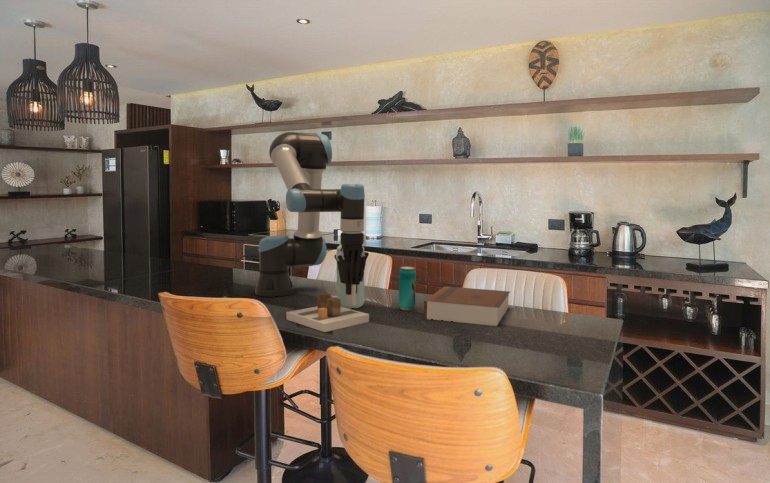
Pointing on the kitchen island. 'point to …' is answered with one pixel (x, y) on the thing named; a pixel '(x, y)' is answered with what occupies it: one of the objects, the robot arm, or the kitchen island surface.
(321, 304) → the tab
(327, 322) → the switch board
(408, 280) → the beverage can
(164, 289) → the kitchen island surface
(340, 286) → the water bottle
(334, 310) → the tab
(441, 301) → the book
